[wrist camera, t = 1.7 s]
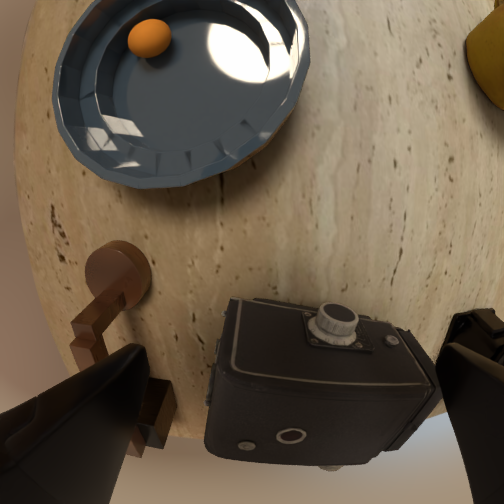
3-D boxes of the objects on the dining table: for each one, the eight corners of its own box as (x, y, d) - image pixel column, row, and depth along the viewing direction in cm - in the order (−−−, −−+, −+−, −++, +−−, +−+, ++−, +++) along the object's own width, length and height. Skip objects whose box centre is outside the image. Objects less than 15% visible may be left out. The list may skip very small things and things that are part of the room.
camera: (221, 361, 25) (372, 387, 24) (184, 460, 14) (392, 482, 13) (238, 255, 22) (417, 293, 20) (187, 344, 11) (482, 383, 10)
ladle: (177, 403, 26) (158, 462, 18) (133, 395, 26) (108, 449, 19) (147, 240, 20) (93, 282, 13) (92, 240, 21) (30, 277, 13)
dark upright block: (177, 405, 26) (163, 449, 20) (135, 399, 26) (116, 439, 20) (170, 380, 25) (153, 426, 19) (125, 373, 25) (102, 414, 19)
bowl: (298, 179, 19) (311, 186, 13) (96, 187, 19) (52, 198, 14) (293, -8, 14) (300, -49, 9) (105, 17, 14) (71, -7, 9)
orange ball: (175, 59, 16) (161, 44, 13) (136, 66, 16) (118, 54, 13) (177, 25, 15) (165, 8, 12) (139, 33, 15) (122, 18, 12)
